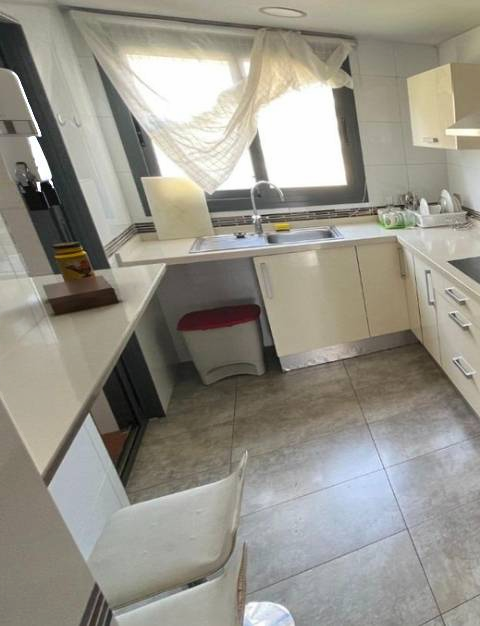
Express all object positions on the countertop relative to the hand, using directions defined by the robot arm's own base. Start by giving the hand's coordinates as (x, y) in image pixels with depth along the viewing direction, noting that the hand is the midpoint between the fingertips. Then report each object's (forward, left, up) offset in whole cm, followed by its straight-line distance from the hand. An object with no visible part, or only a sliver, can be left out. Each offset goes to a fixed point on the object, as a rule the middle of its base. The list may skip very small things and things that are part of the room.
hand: (46, 207), depth 108 cm
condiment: (-3, +11, -22) cm, 25 cm away
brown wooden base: (+1, -5, -22) cm, 23 cm away
